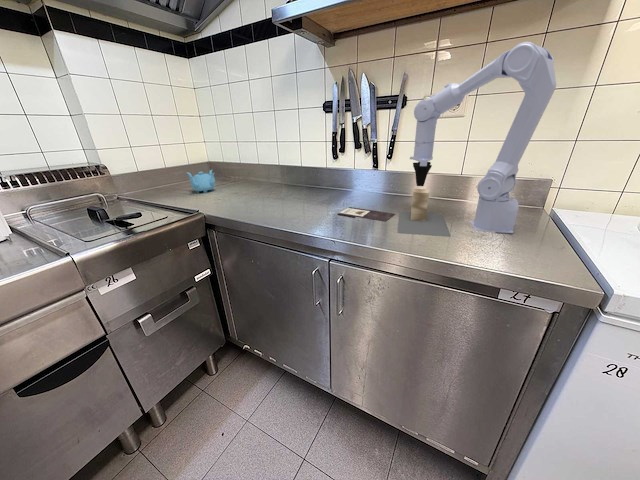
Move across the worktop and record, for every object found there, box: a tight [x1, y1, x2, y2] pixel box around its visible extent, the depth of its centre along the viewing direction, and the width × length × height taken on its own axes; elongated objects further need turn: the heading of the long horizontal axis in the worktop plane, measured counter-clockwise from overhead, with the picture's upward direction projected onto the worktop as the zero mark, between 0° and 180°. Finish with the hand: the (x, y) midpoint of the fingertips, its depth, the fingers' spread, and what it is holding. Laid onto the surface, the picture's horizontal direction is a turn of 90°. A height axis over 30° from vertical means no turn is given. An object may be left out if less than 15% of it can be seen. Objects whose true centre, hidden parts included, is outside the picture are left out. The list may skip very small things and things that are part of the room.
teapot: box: [186, 169, 216, 194], centre depth 138 cm, size 13×13×10 cm
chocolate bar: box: [337, 206, 396, 223], centre depth 93 cm, size 9×1×18 cm
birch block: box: [410, 188, 430, 221], centre depth 85 cm, size 4×4×9 cm
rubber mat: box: [397, 211, 452, 238], centre depth 83 cm, size 14×20×1 cm
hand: (419, 184), depth 91 cm, fingers open, 3 cm apart
